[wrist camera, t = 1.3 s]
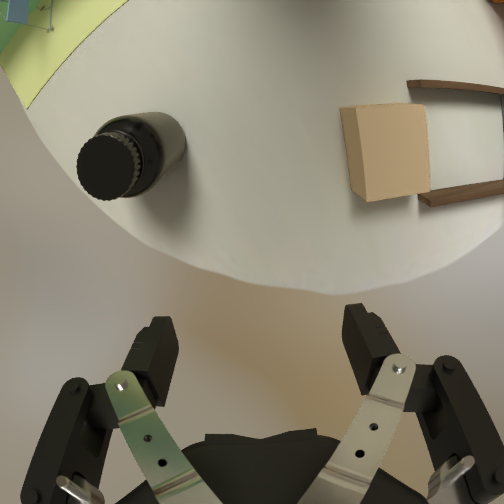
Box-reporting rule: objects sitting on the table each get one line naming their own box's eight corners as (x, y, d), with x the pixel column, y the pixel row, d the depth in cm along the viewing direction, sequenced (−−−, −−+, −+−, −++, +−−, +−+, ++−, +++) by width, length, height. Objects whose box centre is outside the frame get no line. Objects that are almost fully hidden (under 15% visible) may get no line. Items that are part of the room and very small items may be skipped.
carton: (338, 107, 26) (355, 107, 22) (400, 103, 25) (424, 104, 21) (350, 188, 30) (366, 202, 26) (407, 179, 30) (429, 191, 25)
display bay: (406, 80, 24) (477, 77, 13) (502, 89, 22) (565, 99, 12) (417, 198, 30) (478, 242, 20) (506, 184, 29) (561, 215, 18)
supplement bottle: (115, 139, 27) (50, 160, 16) (163, 99, 25) (111, 95, 15) (150, 187, 30) (101, 231, 19) (199, 150, 28) (169, 176, 17)
